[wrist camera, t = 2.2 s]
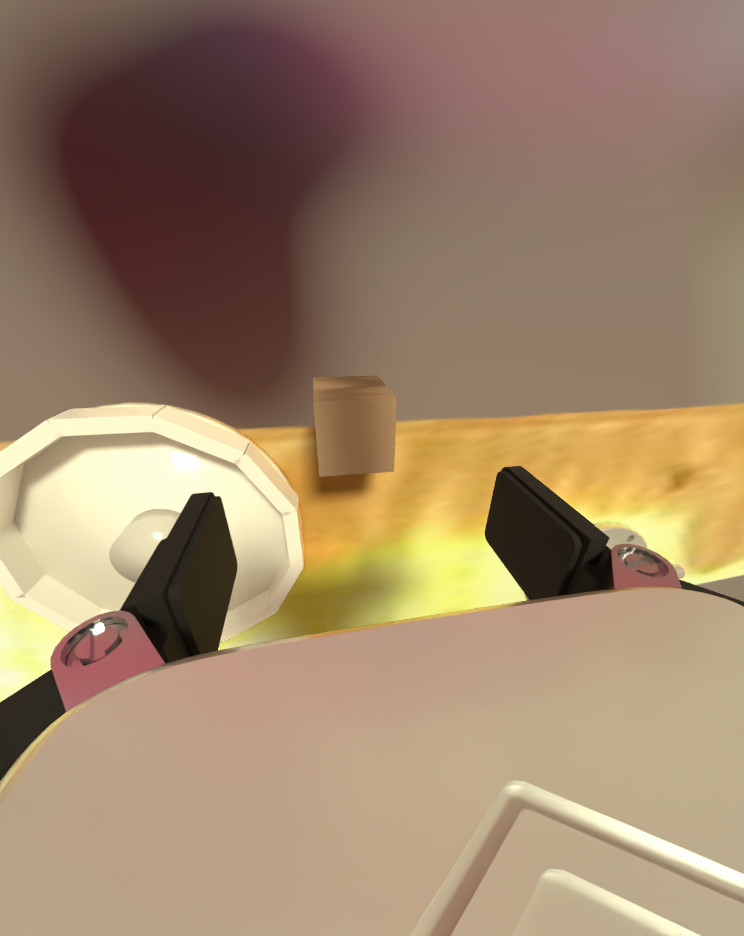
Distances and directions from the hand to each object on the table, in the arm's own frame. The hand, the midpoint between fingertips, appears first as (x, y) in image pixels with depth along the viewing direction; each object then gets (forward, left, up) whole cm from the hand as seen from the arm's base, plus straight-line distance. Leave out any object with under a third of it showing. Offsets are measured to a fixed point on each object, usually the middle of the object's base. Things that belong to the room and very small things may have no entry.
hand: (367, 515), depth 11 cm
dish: (+14, +9, -14) cm, 21 cm away
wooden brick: (0, 0, -14) cm, 14 cm away
